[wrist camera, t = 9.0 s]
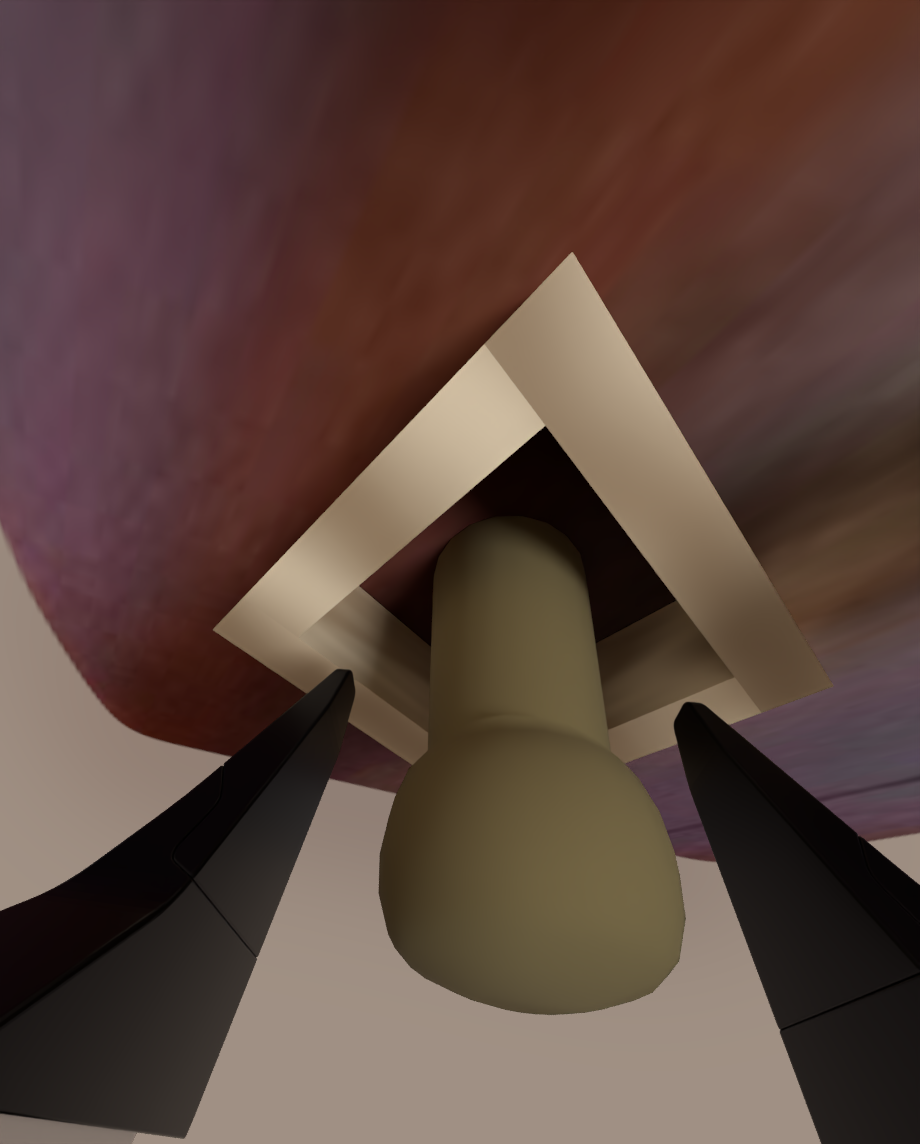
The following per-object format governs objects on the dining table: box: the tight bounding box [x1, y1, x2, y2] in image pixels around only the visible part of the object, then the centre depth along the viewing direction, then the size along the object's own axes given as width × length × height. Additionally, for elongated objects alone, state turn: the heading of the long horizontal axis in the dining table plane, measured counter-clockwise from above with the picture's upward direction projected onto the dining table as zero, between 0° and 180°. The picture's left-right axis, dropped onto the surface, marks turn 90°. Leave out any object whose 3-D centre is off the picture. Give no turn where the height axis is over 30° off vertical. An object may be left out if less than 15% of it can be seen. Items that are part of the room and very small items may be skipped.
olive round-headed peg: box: [379, 516, 686, 1015], centre depth 10 cm, size 6×6×11 cm
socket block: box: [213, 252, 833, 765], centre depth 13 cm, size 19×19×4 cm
